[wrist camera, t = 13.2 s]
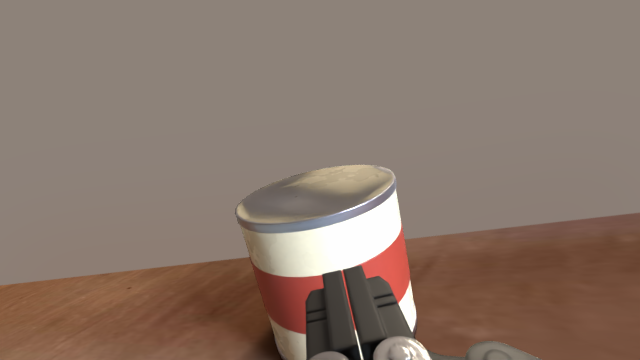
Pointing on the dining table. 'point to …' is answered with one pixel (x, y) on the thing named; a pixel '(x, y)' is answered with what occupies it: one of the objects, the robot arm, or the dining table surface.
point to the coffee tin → (323, 242)
